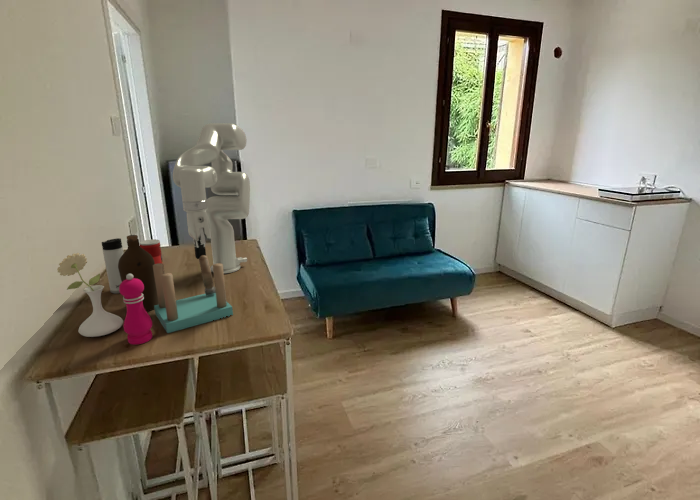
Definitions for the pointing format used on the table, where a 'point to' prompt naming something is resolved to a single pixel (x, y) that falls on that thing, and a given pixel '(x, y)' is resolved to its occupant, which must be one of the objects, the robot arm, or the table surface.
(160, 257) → the canned food
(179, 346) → the table surface
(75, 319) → the table surface
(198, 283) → the table surface
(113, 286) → the travel mug
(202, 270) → the hinged leg
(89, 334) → the flower in vase
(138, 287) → the pepper mill
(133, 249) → the olive oil
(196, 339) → the table surface
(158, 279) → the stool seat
